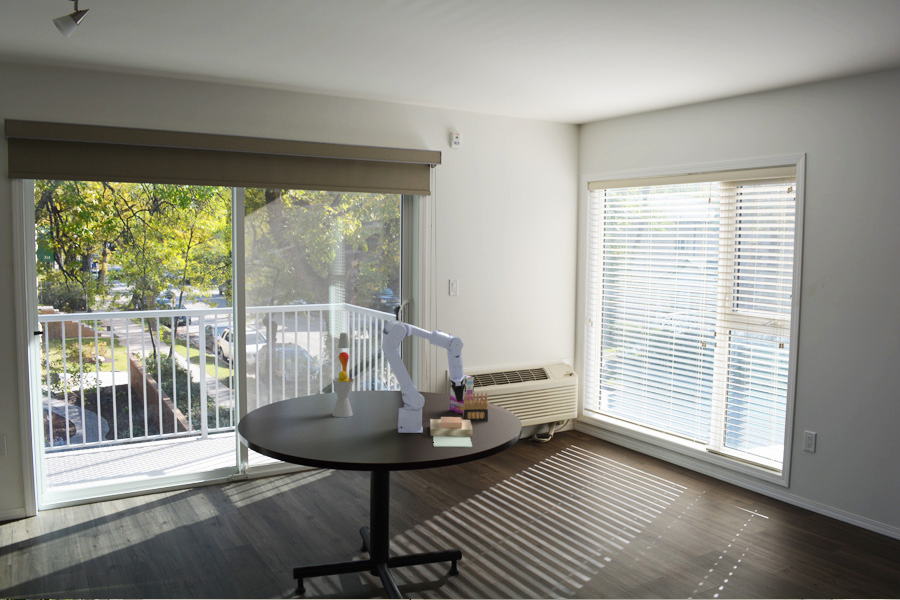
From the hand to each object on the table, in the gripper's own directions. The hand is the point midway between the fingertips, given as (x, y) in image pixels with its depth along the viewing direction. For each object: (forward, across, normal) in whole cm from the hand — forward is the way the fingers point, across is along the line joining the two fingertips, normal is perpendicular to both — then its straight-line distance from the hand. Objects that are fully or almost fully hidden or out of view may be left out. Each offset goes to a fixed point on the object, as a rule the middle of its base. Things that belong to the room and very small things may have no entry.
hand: (459, 398), depth 259 cm
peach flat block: (+7, -10, +4) cm, 13 cm away
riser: (+10, -8, +5) cm, 14 cm away
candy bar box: (+13, +22, -1) cm, 26 cm away
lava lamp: (+6, +14, +50) cm, 52 cm away
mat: (+10, -22, +5) cm, 25 cm away
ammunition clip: (+13, +8, -6) cm, 17 cm away
